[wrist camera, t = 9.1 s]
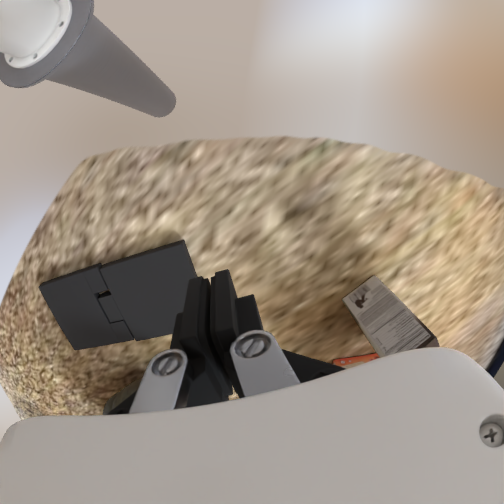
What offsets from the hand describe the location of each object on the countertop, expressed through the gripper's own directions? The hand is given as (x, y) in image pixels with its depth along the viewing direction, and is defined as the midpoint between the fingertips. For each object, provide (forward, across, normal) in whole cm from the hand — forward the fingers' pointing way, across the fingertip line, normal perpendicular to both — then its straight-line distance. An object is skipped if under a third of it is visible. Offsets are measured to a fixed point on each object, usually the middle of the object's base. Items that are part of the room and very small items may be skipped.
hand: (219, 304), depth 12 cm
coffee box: (+23, -18, +21) cm, 36 cm away
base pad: (+23, +24, +10) cm, 35 cm away
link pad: (+23, +13, +10) cm, 28 cm away
